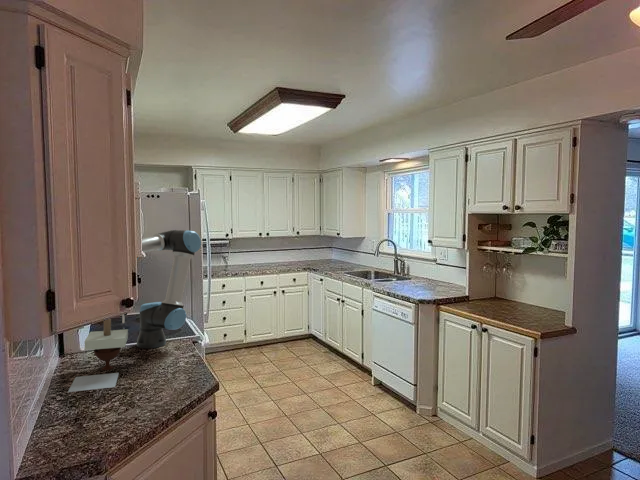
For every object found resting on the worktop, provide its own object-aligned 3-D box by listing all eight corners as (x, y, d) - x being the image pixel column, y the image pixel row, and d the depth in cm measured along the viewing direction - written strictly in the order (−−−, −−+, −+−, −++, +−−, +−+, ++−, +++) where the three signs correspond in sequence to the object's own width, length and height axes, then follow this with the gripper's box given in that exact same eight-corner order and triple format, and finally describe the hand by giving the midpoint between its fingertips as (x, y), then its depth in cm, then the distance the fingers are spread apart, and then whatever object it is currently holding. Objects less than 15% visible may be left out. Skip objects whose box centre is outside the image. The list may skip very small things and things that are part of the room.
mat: (119, 373, 190) (119, 372, 190) (115, 388, 174) (115, 386, 174) (75, 378, 184) (75, 376, 184) (67, 393, 169) (67, 392, 169)
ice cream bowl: (110, 374, 190) (110, 341, 189) (88, 372, 192) (88, 339, 191) (125, 366, 200) (125, 334, 199) (104, 364, 202) (104, 333, 202)
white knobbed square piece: (127, 337, 206) (127, 310, 205) (125, 346, 191) (124, 318, 190) (90, 340, 200) (90, 312, 200) (84, 350, 185) (84, 320, 185)
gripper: (74, 279, 186) (74, 327, 187) (136, 277, 195) (136, 323, 196) (77, 277, 193) (77, 323, 194) (137, 275, 202) (137, 319, 203)
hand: (107, 323), depth 195 cm, fingers open, 13 cm apart
